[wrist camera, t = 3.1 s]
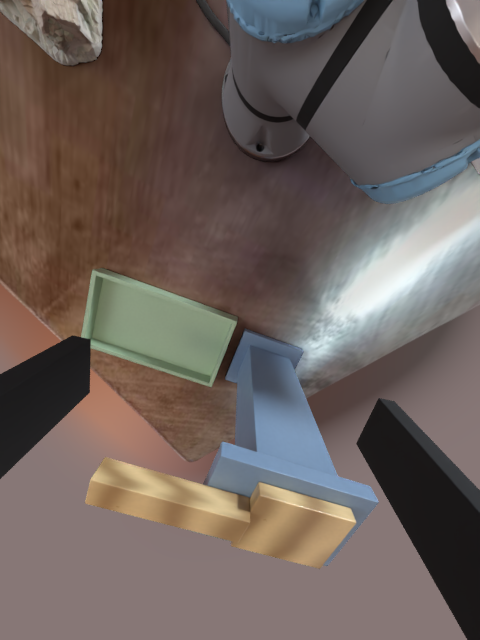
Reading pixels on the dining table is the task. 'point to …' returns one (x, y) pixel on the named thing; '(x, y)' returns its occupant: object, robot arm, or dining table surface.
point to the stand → (279, 434)
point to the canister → (476, 165)
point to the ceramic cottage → (60, 26)
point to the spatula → (226, 512)
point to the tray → (156, 327)
